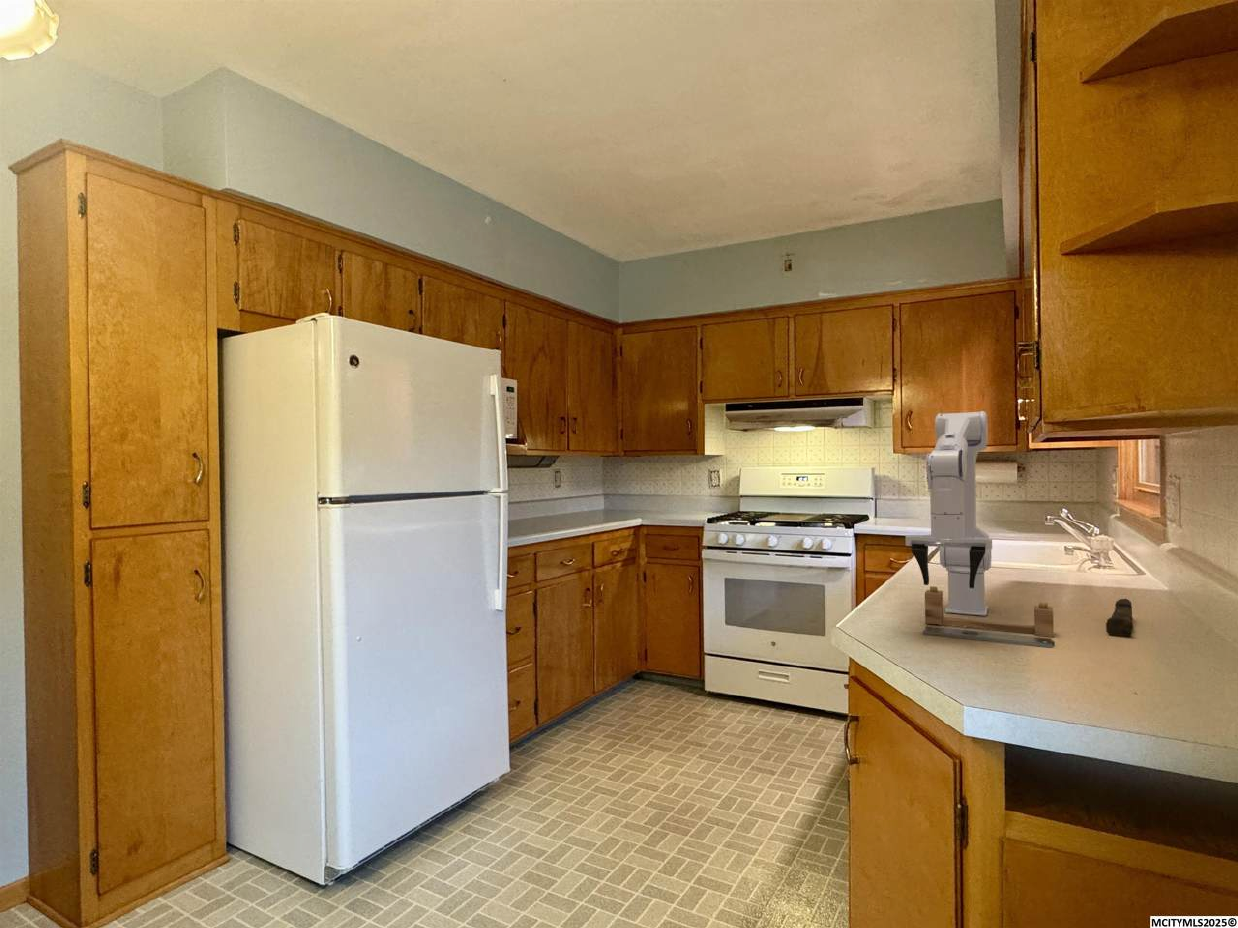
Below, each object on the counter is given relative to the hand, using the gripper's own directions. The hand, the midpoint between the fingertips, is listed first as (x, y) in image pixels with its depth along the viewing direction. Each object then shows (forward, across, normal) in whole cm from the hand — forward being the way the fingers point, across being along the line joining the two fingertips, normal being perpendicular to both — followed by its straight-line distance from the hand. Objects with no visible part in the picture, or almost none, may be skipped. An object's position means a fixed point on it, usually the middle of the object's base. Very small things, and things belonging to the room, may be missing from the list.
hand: (948, 585), depth 125 cm
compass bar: (+10, +6, +11) cm, 16 cm away
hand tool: (+11, +28, +24) cm, 39 cm away
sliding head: (+10, -4, +11) cm, 15 cm away
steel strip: (+10, +6, +3) cm, 12 cm away
